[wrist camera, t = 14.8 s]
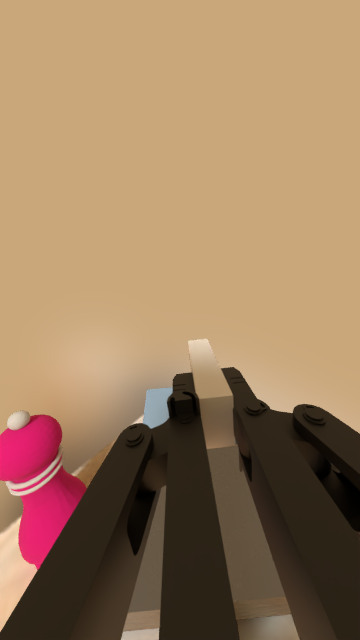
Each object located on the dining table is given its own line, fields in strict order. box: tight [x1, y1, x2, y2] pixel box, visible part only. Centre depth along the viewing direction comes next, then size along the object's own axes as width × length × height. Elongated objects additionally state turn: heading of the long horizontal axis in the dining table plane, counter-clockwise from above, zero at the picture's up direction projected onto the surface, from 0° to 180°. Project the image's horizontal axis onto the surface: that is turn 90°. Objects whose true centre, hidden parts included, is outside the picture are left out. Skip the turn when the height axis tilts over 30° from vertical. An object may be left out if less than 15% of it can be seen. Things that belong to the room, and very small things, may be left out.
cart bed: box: [123, 446, 291, 631], centre depth 22 cm, size 22×14×6 cm, turn 92°
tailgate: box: [143, 387, 237, 445], centre depth 35 cm, size 17×2×12 cm
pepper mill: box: [0, 411, 87, 570], centre depth 21 cm, size 7×7×20 cm
